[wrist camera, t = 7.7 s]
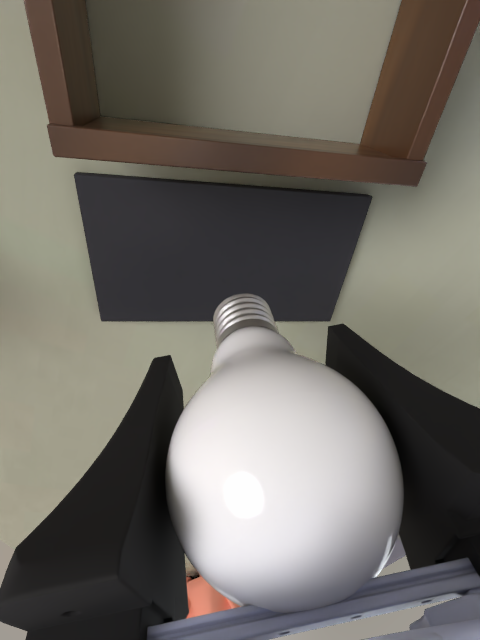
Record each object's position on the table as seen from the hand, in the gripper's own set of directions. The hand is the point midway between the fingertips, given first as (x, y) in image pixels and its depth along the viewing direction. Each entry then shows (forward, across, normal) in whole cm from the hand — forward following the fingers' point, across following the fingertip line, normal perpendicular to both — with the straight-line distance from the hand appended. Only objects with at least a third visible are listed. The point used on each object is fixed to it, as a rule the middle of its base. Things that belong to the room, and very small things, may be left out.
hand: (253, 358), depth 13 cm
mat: (+9, 0, 0) cm, 9 cm away
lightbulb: (+4, 0, 0) cm, 4 cm away
